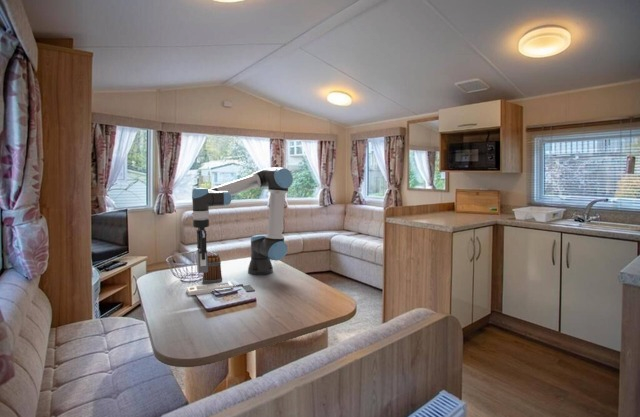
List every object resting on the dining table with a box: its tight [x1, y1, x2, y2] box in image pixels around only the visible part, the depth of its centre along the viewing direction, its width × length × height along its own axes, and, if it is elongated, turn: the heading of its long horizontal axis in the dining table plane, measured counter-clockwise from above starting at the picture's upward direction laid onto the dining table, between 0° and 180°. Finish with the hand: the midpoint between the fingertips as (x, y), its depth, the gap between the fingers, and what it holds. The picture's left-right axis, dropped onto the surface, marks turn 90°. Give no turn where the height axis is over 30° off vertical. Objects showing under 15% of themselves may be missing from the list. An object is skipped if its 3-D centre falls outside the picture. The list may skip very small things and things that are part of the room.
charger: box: [196, 249, 209, 274], centre depth 178 cm, size 4×4×12 cm
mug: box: [201, 253, 223, 285], centre depth 197 cm, size 16×11×15 cm
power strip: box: [186, 280, 244, 296], centre depth 183 cm, size 28×7×4 cm, turn 118°
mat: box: [241, 284, 256, 293], centre depth 186 cm, size 9×9×1 cm
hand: (202, 264), depth 178 cm, fingers closed on charger, 4 cm apart
